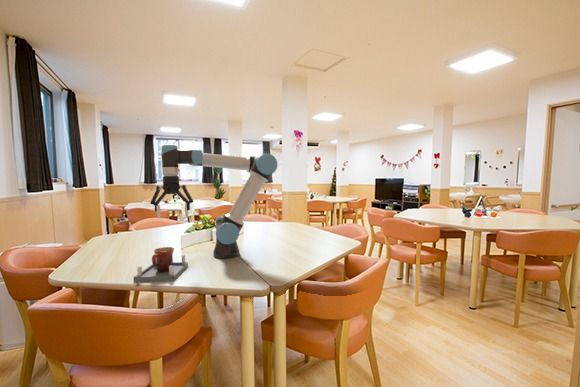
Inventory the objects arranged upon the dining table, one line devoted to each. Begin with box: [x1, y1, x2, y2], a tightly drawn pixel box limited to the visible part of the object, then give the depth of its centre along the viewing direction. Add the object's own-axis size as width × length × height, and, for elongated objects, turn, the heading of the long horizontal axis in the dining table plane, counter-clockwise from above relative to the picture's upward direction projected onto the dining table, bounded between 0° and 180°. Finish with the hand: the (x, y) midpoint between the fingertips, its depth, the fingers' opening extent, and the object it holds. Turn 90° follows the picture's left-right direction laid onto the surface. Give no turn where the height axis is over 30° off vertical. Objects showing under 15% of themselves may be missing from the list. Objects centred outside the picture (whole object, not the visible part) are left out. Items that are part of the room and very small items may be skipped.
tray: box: [133, 254, 189, 283], centre depth 125 cm, size 17×20×6 cm
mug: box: [151, 246, 175, 272], centre depth 125 cm, size 12×9×10 cm
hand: (173, 217), depth 134 cm, fingers open, 13 cm apart
